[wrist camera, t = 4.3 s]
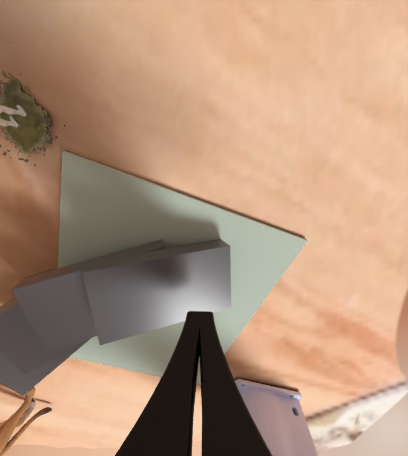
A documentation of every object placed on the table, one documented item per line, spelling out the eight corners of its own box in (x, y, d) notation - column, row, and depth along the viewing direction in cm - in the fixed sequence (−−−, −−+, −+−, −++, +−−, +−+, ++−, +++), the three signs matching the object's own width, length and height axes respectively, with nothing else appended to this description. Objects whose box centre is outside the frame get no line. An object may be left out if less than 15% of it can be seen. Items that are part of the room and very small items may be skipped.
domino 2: (62, 285, 15) (-36, 364, 14) (109, 322, 17) (23, 395, 16) (70, 276, 17) (-19, 347, 16) (113, 311, 18) (34, 377, 17)
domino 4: (230, 245, 13) (81, 272, 10) (231, 307, 15) (100, 345, 12) (220, 238, 15) (88, 261, 12) (222, 295, 16) (103, 327, 13)
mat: (305, 238, 15) (307, 240, 15) (202, 382, 25) (202, 385, 24) (65, 150, 12) (62, 151, 12) (55, 351, 22) (54, 354, 22)
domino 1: (108, 260, 14) (-29, 327, 12) (140, 309, 16) (25, 374, 14) (111, 252, 15) (-11, 311, 14) (140, 298, 17) (36, 356, 15)
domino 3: (165, 245, 13) (11, 290, 11) (180, 304, 15) (48, 354, 13) (162, 239, 15) (26, 277, 12) (176, 292, 16) (57, 335, 14)
